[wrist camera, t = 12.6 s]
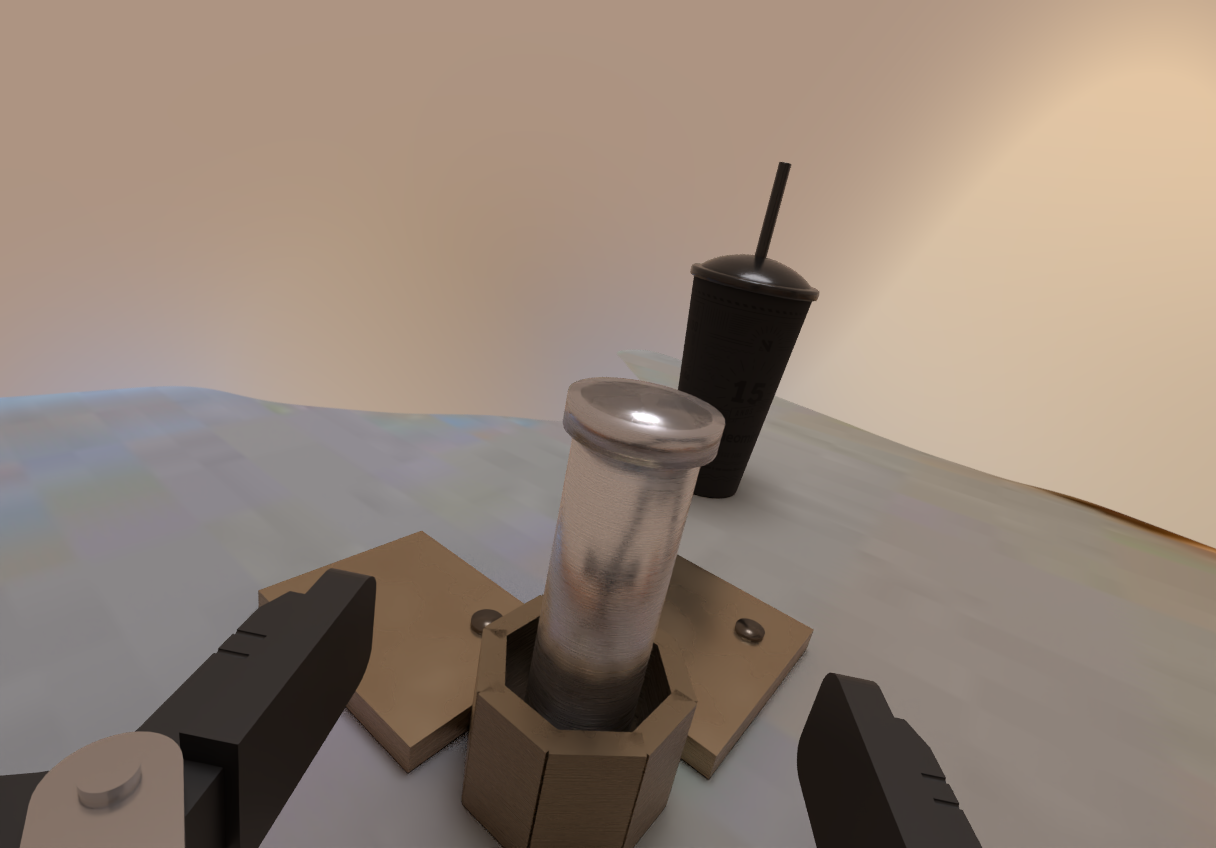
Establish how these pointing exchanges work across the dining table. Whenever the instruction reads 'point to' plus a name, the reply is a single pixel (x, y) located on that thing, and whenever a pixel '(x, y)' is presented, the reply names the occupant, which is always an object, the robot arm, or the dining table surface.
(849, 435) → the dining table surface
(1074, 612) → the dining table surface
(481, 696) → the hinge base
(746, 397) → the drinking cup
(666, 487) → the hinge pin
